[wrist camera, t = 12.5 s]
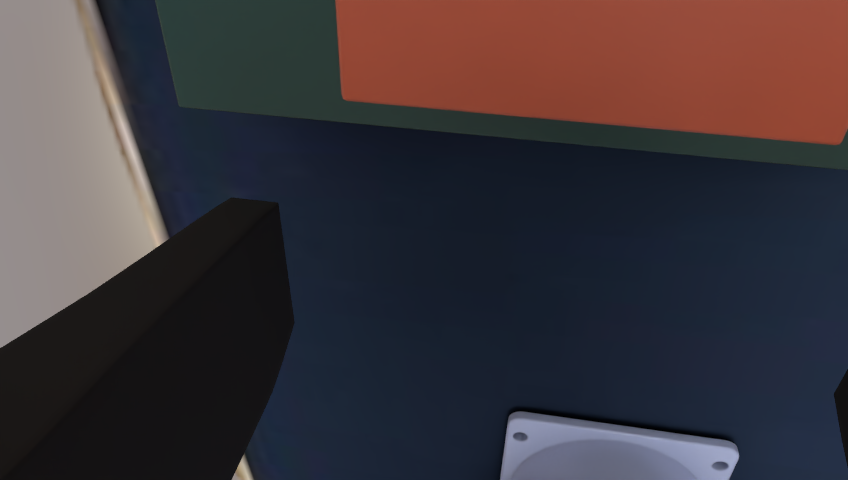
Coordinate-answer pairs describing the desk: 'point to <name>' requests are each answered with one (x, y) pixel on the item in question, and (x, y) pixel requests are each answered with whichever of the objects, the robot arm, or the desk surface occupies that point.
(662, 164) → the desk surface
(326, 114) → the bin lid
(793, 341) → the desk surface
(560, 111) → the block
